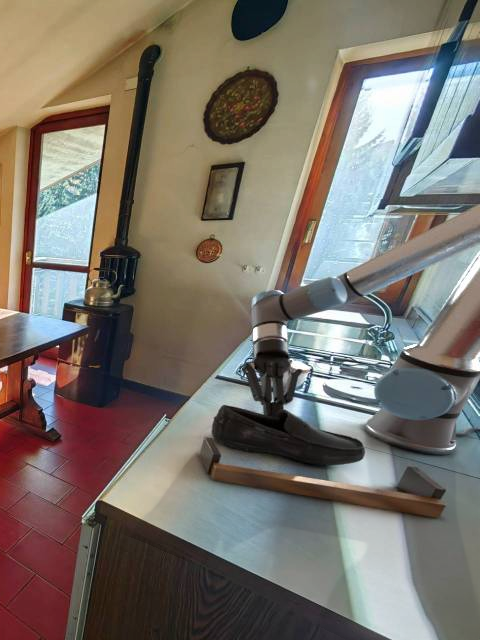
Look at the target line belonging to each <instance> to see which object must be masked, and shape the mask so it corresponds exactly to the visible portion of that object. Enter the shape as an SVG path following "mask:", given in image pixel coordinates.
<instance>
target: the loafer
mask: <svg viewBox="0 0 480 640" xmlns="http://www.w3.org/2000/svg"><path fill="white" fill-rule="evenodd" d="M277 417H278V418H274V417H271V416H267V415H264V414H263V413H259V412H256V411H252V410H249V409H246V408H245V409H244V408H241V407H237V406H234V405H233V406H232V405H227V404H222V405H221V406H220V408H219V409H218V411H217V414H216V415H215V416H213V421H212V425H211V435H212V438H214V440H215V441H216V442H217V443H219V444H220V445H222V446H225V447H231V448H232V449H235V450H241V451H247V452H259V453H269V454H275V455H280V456H283V457H286V458H288V459H291V460H293V461H297V462H298V463H299V462H300V463H304V464H307V463H309V464H310V465H317V466H326V465H327V466H341V465H349V464H354V463H358V462H360V461H362V460H363V459H364V457H365V454H366V449H365V446H364V443H363V442H362V441H361V440H360V439H358V438H357V437H356V438H355V437H352V436H348V435H344V434H339V433H336V432H333V431H332V432H331V431H328V430H324V429H319V428H316V427H314V426H312V425H311V424H310V423H308V422H307V421H305V420H304V419H302V418H301V417H299V416H296V415H295V414H293V413H292V412H290V411H289V410H287V409H285V408H284V409H283V410H280V411H278V412H277Z"/></svg>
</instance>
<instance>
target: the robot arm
mask: <svg viewBox="0 0 480 640" xmlns="http://www.w3.org/2000/svg"><path fill="white" fill-rule="evenodd" d="M479 245H480V203H479V204H477V205H475V206H473V207H471V208H469V209H467V210H465V211H463V212H461V213H459V214H457V215H456V216H453V217H452V218H450V219H448V220H446V221H444V222H442V223H440V224H438V225H436V226H434V227H432V228H430V229H427V230H426V231H424V232H422V233H420V234H418V235H416V236H414V237H413V238H410V239H408V240H406V241H404V242H402V243H401V244H399V245H396V246H394V247H393V248H391V249H388V250H387V251H385V252H383V253H381V254H379V255H376V256H375V257H373V258H371V259H369V260H367V261H366V262H363V263H361V264H359V265H357V266H356V267H353V268H352V269H349V270H348V271H346V272H343V273H341V274H340V275H338V276H327V277H325V278H322V279H317V280H314V281H313V282H311V283H308V284H306V285H303V286H300V287H298V288H295V289H293V290H290V291H287V292H282V291H281V290H277V289H269V290H263V291H261V292H259V293H257V294H256V295H254V296H253V297H252V299H251V307H250V308H251V309H250V315H251V333H252V334H251V337H252V339H251V340H252V361H251V362H250V363H245V364H244V366H242V367H241V371H242V372H243V374H244V375H245V377H246V379H247V383H248V385H249V388H250V392H251V396H252V398H253V400H254V402H258V403H260V405H261V406H262V411H263V412H262V414H264V415H267V416H271V417H274V418H278V417H277V412H278V411H280V410H283V409H284V410H285V408H284V406H286V405H288V404H290V403H291V402H293V400H294V396H295V393H296V388H297V387H296V384H297V380H298V376H299V375H300V374H301V373H302V372H303V371H302V369H295V368H294V367H292V366H291V363H290V361H289V359H290V358H289V357H290V352H289V351H290V350H289V335H288V323H289V322H291V321H295V320H298V319H302V318H305V317H307V316H311V315H314V314H318V313H323V312H326V311H330V310H337V309H338V310H339V309H342V308H345V307H346V306H347V307H348V306H349V305H351V304H352V303H353V302H355V301H357V300H360V299H361V298H363V297H365V296H368V295H370V294H372V293H375V292H377V291H379V290H381V289H383V288H385V287H387V286H390V285H393V284H394V283H397V282H399V281H401V280H404V279H405V278H408V277H410V276H412V275H414V274H417V273H419V272H421V271H423V270H426V269H428V268H430V267H432V266H435V265H437V264H440V263H441V262H443V261H446V260H448V259H450V258H452V257H454V256H456V255H458V254H461V253H464V252H465V251H468V250H470V249H472V248H475V247H477V246H479ZM286 371H288V376H289V378H288V380H287V383H286V387H285V390H284V389H283V377H284V373H285V372H286ZM257 373H258V374H259V378H258V374H257ZM259 380H260V381H259ZM271 381H272V382H273V386H272V385H271ZM479 381H480V251H479V252H478V253H477V254H476V256H475V257H474V259H473V260H472V262H471V264H470V265H469V266H468V268H467V269H466V271H465V272H464V274H463V275H462V277H461V278H460V280H459V281H458V282H457V285H456V286H455V287H454V289H453V291H452V292H451V293H450V294H449V297H448V298H447V299H446V301H445V303H444V304H443V305H442V307H441V309H440V310H439V312H438V313H437V315H436V316H435V317H434V319H433V320H432V322H431V324H429V326H428V328H427V329H426V331H425V332H424V334H423V336H422V337H421V339H420V340H419V341H418V343H416V344H413V345H409V346H407V347H404V348H403V349H402V350H401V352H400V353H399V355H398V356H397V357H396V360H395V361H394V362H393V364H392V365H391V367H390V369H389V370H388V371H387V372H385V373H383V374H382V375H381V376H380V377H379V378H378V379H377V380H376V383H375V385H374V389H373V393H374V394H373V395H374V398H375V400H376V402H377V403H378V405H379V406H380V407H381V408H380V409H378V411H376V413H375V414H373V415H372V416H371V417H370V418H369V419H368V420H367V421H366V423H365V426H364V429H365V431H366V432H367V433H368V434H369V435H371V436H373V437H374V438H376V439H378V440H380V441H382V442H384V443H387V444H389V445H392V446H394V447H397V448H402V449H405V450H409V451H412V452H417V453H421V454H428V455H435V456H436V455H437V456H440V455H442V456H445V455H450V454H451V453H452V452H453V451H454V449H455V447H456V445H457V438H461V437H466V436H468V435H469V434H470V433H473V432H478V433H479V432H480V429H478V428H479V427H469V428H466V429H464V430H463V431H461V432H457V421H458V418H459V417H460V415H461V413H462V411H463V409H464V408H465V406H466V404H467V403H468V401H469V399H470V397H471V395H472V393H473V392H474V391H475V388H476V386H477V385H478V383H479Z"/></svg>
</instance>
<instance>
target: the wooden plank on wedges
mask: <svg viewBox="0 0 480 640" xmlns="http://www.w3.org/2000/svg"><path fill="white" fill-rule="evenodd" d="M202 441H203V442H202V445H201V447H200V451H199V458H200V460H201V462H202V465H203V468H204V470H205V472H206V474H207V475H210V478H211V480H212V481H217V482H224V483H229V484H236V485H241V486H247V487H253V488H259V489H264V490H271V491H276V492H281V493H282V492H283V493H289V494H295V495H300V496H307V497H312V498H319V499H323V500H329V501H334V502H342V503H345V504H352V505H357V506H358V505H359V506H365V507H371V508H377V509H382V510H387V511H388V510H389V511H392V512H393V511H394V512H400V513H406V514H411V515H412V514H413V515H418V516H422V517H423V516H424V517H430V518H435V519H439V518H440V516H441V515H442V513H443V512H444V509H445V508H446V506H447V504H446V503H444V502H443V501H441V500H442V498H443V497H444V495H445V493H446V491H447V489H446V488H445V487H443V486H442V485H441V484H439V483H438V482H437V481H435V479H433V478H432V477H430V476H429V475H427V474H426V473H425V472H424V471H422V470H421V469H420V468H418V467H417V466H409V465H407V467H406V468H405V470H404V472H403V474H402V476H401V477H400V479H399V481H398V483H397V484H396V487H397V488H398V489H399V490H400V491H401V492H399V491H393V490H387V489H381V488H376V487H370V486H362V485H357V484H350V483H343V482H338V481H331V480H324V479H318V478H312V477H307V476H306V477H305V476H299V475H293V474H289V473H288V474H287V473H281V472H275V471H270V470H269V471H268V470H262V469H255V468H250V467H243V466H238V465H231V464H226V463H225V464H223V463H220V461H221V457H222V454H221V452H220V450H219V448H218V446H217V445H216V442H215V441H214V439H213V437H210V436H204V437H203V440H202Z"/></svg>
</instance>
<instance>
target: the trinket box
mask: <svg viewBox="0 0 480 640" xmlns="http://www.w3.org/2000/svg"><path fill="white" fill-rule="evenodd" d="M289 361H290V363H291V366H292V367H294V368H295V369H302V371H303V372H302V373H301V374H300V375H299V376H298V380H297V384H296V388H298V387H300V386H301V385H302V384H304V382H305V381H306V379H307V378H308V375H309V373H310V371H311V367H310V366H309V365H307V364H305V363H303V362H299V361H295V360H294V359H292V358H289ZM288 378H289V376H288V371H286V372H285V373H284V377H283V390H284V391H285V387H286V383H287V380H288ZM271 387H273V382H272V381H271Z"/></svg>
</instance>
